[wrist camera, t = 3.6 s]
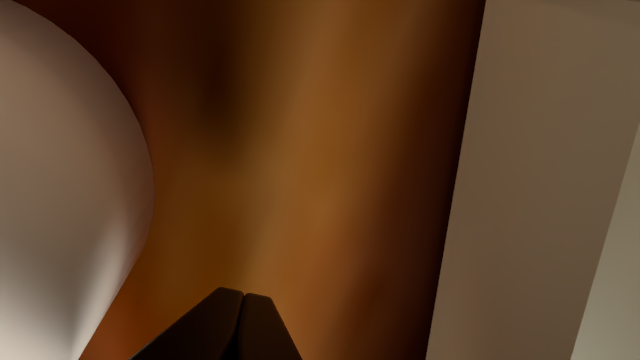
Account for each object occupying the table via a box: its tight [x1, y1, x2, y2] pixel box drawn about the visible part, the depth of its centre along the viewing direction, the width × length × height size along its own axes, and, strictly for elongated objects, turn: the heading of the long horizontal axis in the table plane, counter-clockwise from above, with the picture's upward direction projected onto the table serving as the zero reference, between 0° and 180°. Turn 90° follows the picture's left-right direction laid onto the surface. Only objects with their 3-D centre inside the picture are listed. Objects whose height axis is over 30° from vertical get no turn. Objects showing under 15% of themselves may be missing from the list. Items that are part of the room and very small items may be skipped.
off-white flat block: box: [426, 0, 640, 360], centre depth 8 cm, size 11×1×5 cm, turn 176°
